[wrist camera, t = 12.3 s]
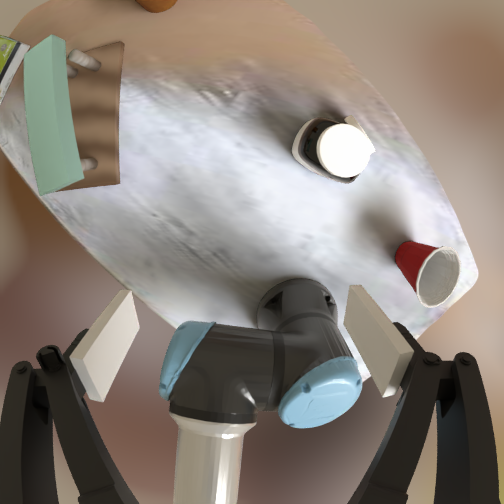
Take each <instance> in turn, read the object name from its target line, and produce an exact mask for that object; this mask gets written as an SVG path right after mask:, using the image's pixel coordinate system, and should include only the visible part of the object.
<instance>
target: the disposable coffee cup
mask: <svg viewBox="0 0 504 504" xmlns="http://www.w3.org/2000/svg"><path fill="white" fill-rule="evenodd" d="M135 1H137V2H138V3H139V4H140V5H142V6H143V7H144V8H145V9H146V10H147V11H149V12H152V13H159V12H163V11H165V10H168V9H169V8H171V7H172V6H173V5H174V4H175V3H176V2H177V0H135Z"/></svg>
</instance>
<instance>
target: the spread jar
mask: <svg viewBox="0 0 504 504" xmlns="http://www.w3.org/2000/svg"><path fill="white" fill-rule="evenodd" d="M344 120H345V122H346V124H341V123H339V122H336V121H334V120H331V119H327V118H314V119H312V120H310V121H308V122H306V123H305V124H304V125H303V127H302V128H301V129H300V130H299V132H298V134H297V135H296V137H295V140H294V143H293V146H292V154H293V156H294V158H295V159H296V160H297V161H298V162H299V163H300V164H302V165H303V166H304V167H306V168H307V169H309V170H310V171H312V172H314V173H316V174H318V175H321V176H323V177H326V178H328V179H331V180H334V181H337V182H341V183H351V182H353V181H354V180H355V179H356V178H357V177H358V176H359V174H360V173H361V171H362V170H363V169H364V168H365V167H366V165H367V163H368V160H369V156H370V154H372V153H373V152H375V149H374V147H373V145H372V143H371V141H370V140H369V138H368V136H367V135H366V133H365V132H364V130H363V129H362V128H361V126H360V125H359V123H358V122H357V121H356V120H355V119H354V117H353V116H352V115H350V116H348V117H347V118H345V119H344Z"/></svg>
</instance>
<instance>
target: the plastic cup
mask: <svg viewBox="0 0 504 504" xmlns="http://www.w3.org/2000/svg"><path fill="white" fill-rule="evenodd" d="M395 260H396V264H397V265H398V267H399V269H400V270H401V271H402V273H403V275H404V276H405V278H406V279H407V281H408V282H409V283H410V285H411V286H412V287H413V289H414V291H415V292H416V294H417V297H418V299H419V301H420V303H421V304H422V305H424V306H426V307H427V308H430V307H437V306H439V305H440V304H442V303H444V302H445V301H446V300H447V299H448V298H449V297H450V296H451V294H452V293H453V291H454V289H455V287H456V286H457V283H458V280H459V276H460V272H461V261H460V258H459V255H458V253H457V252H456V251H455V250H454V249H453V248H452V247H445V246H442V247H440V248H436V247H433V246H429V245H425V244H420V243H416V242H411V241H407V242H404V243H403V244H402V245H400V246H399V248H398V250H397V251H396V255H395Z"/></svg>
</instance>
